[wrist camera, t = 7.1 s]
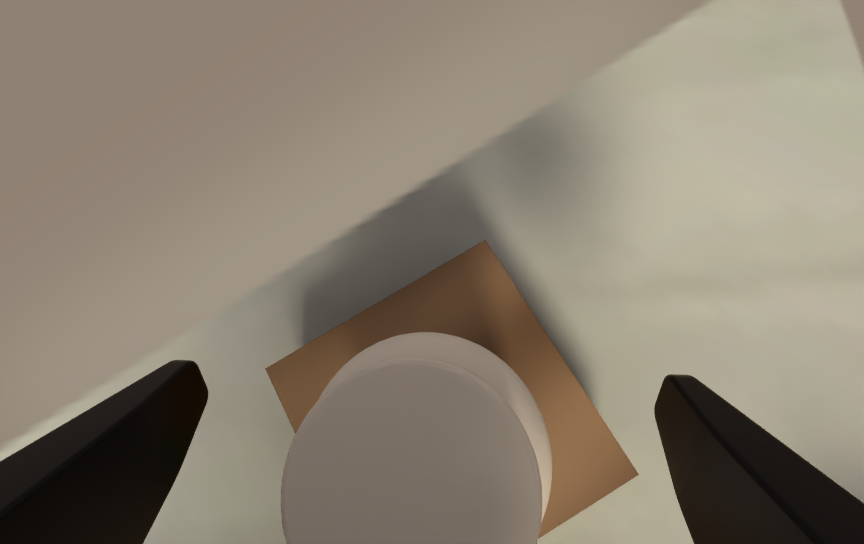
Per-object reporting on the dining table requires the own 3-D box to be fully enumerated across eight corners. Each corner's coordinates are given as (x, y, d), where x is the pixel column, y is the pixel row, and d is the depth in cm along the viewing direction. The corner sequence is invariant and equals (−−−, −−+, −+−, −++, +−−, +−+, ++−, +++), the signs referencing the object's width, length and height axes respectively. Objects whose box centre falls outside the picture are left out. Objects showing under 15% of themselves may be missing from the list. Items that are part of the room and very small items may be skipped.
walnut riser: (602, 454, 19) (638, 474, 15) (404, 579, 18) (388, 634, 14) (481, 265, 21) (485, 239, 17) (302, 369, 21) (265, 368, 17)
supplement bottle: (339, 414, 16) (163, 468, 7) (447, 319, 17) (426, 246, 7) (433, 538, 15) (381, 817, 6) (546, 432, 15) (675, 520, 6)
